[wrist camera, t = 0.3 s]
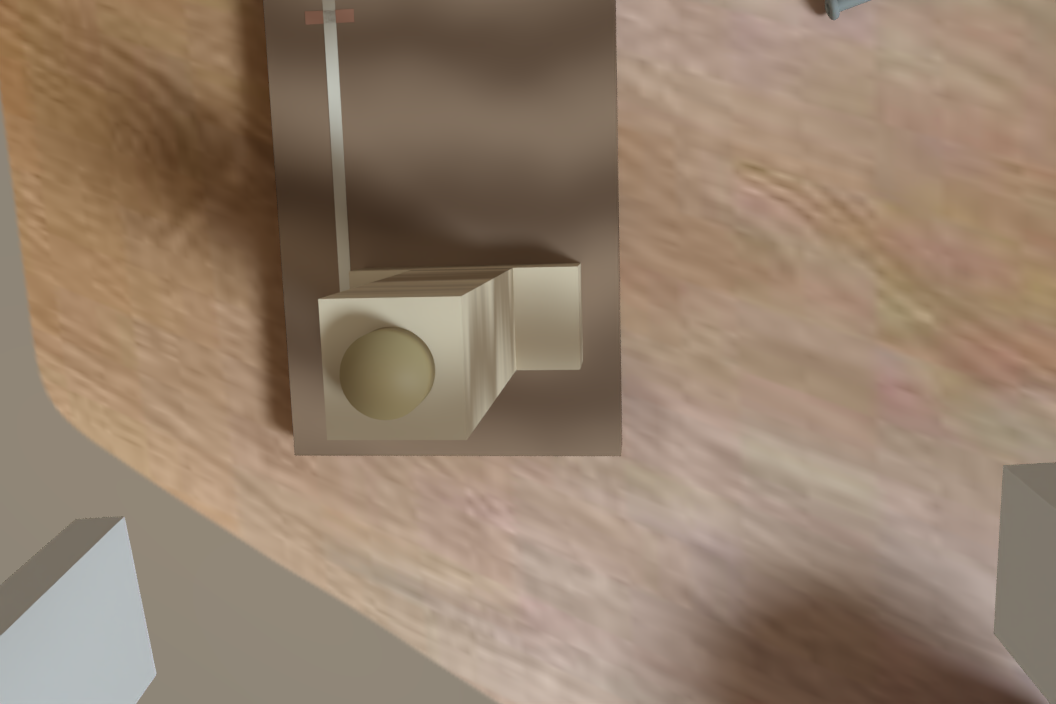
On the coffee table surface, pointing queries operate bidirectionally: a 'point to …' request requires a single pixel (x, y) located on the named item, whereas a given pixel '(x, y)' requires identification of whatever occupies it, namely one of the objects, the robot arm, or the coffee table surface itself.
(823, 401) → the coffee table surface
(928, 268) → the coffee table surface
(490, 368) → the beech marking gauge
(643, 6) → the coffee table surface
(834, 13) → the clamp
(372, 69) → the grey flat plate
